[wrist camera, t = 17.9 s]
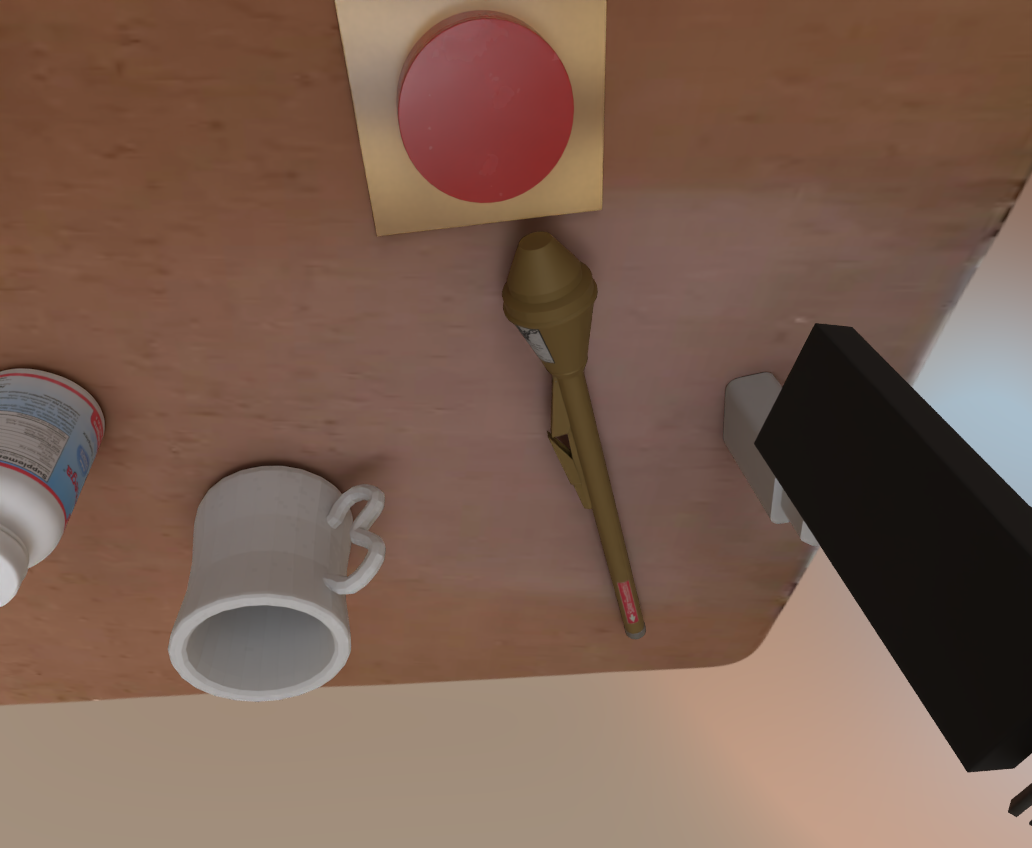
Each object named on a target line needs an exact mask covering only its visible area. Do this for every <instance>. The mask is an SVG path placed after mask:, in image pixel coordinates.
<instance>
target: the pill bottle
mask: <svg viewBox="0 0 1032 848" xmlns="http://www.w3.org/2000/svg"><path fill="white" fill-rule="evenodd" d="M104 431H105V421H104V416H103V413H102V411H101V408H100V407H99V405H98V403H97V402H96V400H95V399H94V398H93V397H92V396H91V395H90V394H89V393H88V392H87V391H86V390H85V389H83V388H82V387H81V386H79V385H78V384H76V383H74V382H72V381H70V380H69V379H66V378H64V377H62V376H59V375H56V374H53V373H49V372H45V371H41V370H35V369H24V368H17V369H10V370H5V371H1V372H0V607H2V606H4V605H5V604H7V603H8V602H9V601H10V600H11V599H12V598H13V597H14V596H15V595H16V593H17V591H18V589H19V587H20V585H21V583H22V581H23V579H24V578H25V576H26V574H27V571H28V568H30V567H32V566H34V565H36V564H38V563H39V562H41V561H42V560H44V559H45V558H46V557H47V556H48V555H49V554H50V553H51V552H52V551H53V550H54V549H55V547H56V546H57V544H58V543H59V541H60V539H61V537H62V534H63V532H64V530H65V528H66V526H67V523H68V521H69V518H70V516H71V513H72V511H73V509H74V506H75V504H76V502H77V499H78V497H79V494H80V492H81V490H82V487H83V485H84V482H85V480H86V478H87V475H88V473H89V471H90V468H91V466H92V463H93V461H94V459H95V456H96V454H97V451H98V449H99V447H100V444H101V441H102V439H103V435H104Z"/></svg>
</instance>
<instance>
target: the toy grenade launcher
mask: <svg viewBox="0 0 1032 848" xmlns="http://www.w3.org/2000/svg"><path fill="white" fill-rule="evenodd" d="M597 293H598V290H597V284H596V282H595V280H594V279H593V278H592V273H591V271H590V269H589V268H588V267H587V266H586V265H585V264H583V263H582V262H580V261H579V260H578V259H577V258H576V257H575V256H574V255H573V254H572V253H571V252H570V251H569V250H567V249H566V248H565V247H564V246H563V245H562V244H561V243H560V242H559V241H557V240H556V239H555V238H554V237H553V236H552V235H551V234H550V233H548V232H534V233H531V234H528V235H526V236H525V237H523V238H522V239H521V240H520V241H519V244H518V247H517V250H516V253H515V256H514V259H513V262H512V265H511V268H510V271H509V274H508V278H507V282H506V284H505V285H504V288H503V291H502V297H503V301H504V303H503V310H504V313H505V316H506V317H507V318H508V320H509V321H511V322H512V323H513V324H515V325H516V327H517V328H518V329H519V331H520V332H521V334H522V335H523V336H524V338H525V339H526V340H527V342H528V343H529V345H530V346H531V347H532V349H533V350H534V352H535V353H536V354H537V356H538V357H539V358H540V360H541V361H542V363H543V364H544V365H545V368H546V369H547V371H548V372H549V373H551V374H552V400H551V433H550V432H548V431H547V433H548V438H549V440H550V442H551V444H552V446H553V448H554V450H555V452H556V454H557V456H558V458H559V461H560V463H561V465H562V467H563V469H564V471H565V473H566V475H567V477H568V479H569V481H570V483H571V484H573V485H574V487H575V489H576V491H577V493H578V496H579V498H580V500H581V502H582V504H583V506H584V508H586V509H592V510H593V514H594V517H595V521H596V524H597V528H598V532H599V535H600V539H601V543H602V546H603V550H604V554H605V557H606V561H607V564H608V568H609V572H610V575H611V579H612V583H613V586H614V590H615V593H616V597H617V601H618V604H619V608H620V612H621V615H622V619H623V622H624V628H625V632H626V634H627V636H628V637H630V638H631V639H639V638H641V637H643V636H644V634H645V632H646V627H645V623H644V621H643V617H642V613H641V609H640V604H639V600H638V596H637V592H636V588H635V584H634V580H633V575H632V571H631V567H630V563H629V559H628V555H627V550H626V546H625V542H624V538H623V534H622V530H621V525H620V521H619V517H618V513H617V509H616V505H615V501H614V496H613V492H612V488H611V484H610V480H609V476H608V471H607V467H606V463H605V459H604V455H603V451H602V447H601V442H600V438H599V434H598V430H597V426H596V422H595V417H594V413H593V409H592V405H591V401H590V397H589V393H588V388H587V384H586V380H585V376H584V372H583V370H584V368H585V366H586V363H587V359H588V355H587V353H588V345H589V337H590V329H591V321H592V313H593V305H594V301H595V299H596V298H597ZM565 434H568V438H569V443H570V448H571V450H570V449H568V448H567V447H566V446H565V445H564V444H563V443H561V442H560V441H559V440H558V439H557V438H555V437H557V436H561V435H565Z"/></svg>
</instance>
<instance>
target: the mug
mask: <svg viewBox="0 0 1032 848" xmlns="http://www.w3.org/2000/svg"><path fill="white" fill-rule="evenodd" d="M362 500H367V501H368V502H367V504H366V506H365V507H364V508H363V510H362V511H361V512H360V514H359V515H358V516H357V518H356V519H355V520H354V522H353V517H352V512H351V510H350V507H351V506H352V505H354V504H355V503H356V502H358V501H362ZM384 502H385V497H384V493H383V492H382V491H381V490H380V489H379V488H378V487H376V486H373V485H367V484H361V485H357V486H353V487H352V488H350V489H349V490H347V491H346V492H344V493H343V494H342V493H341V492H340V491H339V490H338V489H337V487H335V486H334V485H333V484H331V483H330V482H328V481H327V480H325V479H324V478H322V477H320V476H318V475H315V474H313V473H310V472H308V471H305V470H302V469H298V468H292V467H286V466H260V467H255V468H250V469H246V470H241V471H238V472H236V473H234V474H232V475H229V476H227V477H225V478H223V479H221V480H220V481H219V482H218V483H217V484H215V485H214V486H213V487H212V488H210V489H209V490H208V492H207V493H206V495H205V496H204V498H203V500H202V501H201V503H200V505H199V507H198V509H197V514H196V518H195V524H194V534H193V557H192V567H191V572H190V577H189V583H188V588H187V592H186V595H185V597H184V600H183V603H182V605H181V608H180V611H179V613H178V616H177V619H176V621H175V624H174V627H173V629H172V632H171V636H170V641H169V646H168V652H169V656H170V659H171V663H172V665H173V666H174V668H175V669H176V670H177V671H178V673H179V674H180V675H181V677H182V678H183V679H185V680H186V681H187V682H189V683H190V684H192V685H193V686H194V687H196V688H198V689H200V690H202V691H205V692H207V693H210V694H212V695H214V696H219V697H223V698H228V699H233V700H239V701H255V702H260V701H272V700H281V699H285V698H290V697H294V696H299V695H302V694H304V693H307V692H309V691H311V690H314V689H317V688H319V687H320V686H322V685H323V684H325V683H326V682H328V681H329V680H331V679H332V678H333V677H334V676H335V675H336V674H337V673H338V672H339V671H340V670H341V669H342V667H343V666H344V665H345V664H346V661H347V659H348V657H349V654H350V652H351V634H350V626H349V619H348V612H347V604H346V594H354V593H356V592H357V591H359V590H360V589H361V588H363V587H364V586H366V585H367V584H368V583H369V582H370V580H371V579H372V578H373V577H374V576H375V575H376V573H377V572H378V570H379V568H380V567H381V565H382V563H383V561H384V558H385V551H386V548H385V543H384V542H383V540H382V539H381V537H380V536H378V535H376V534H374V533H372V532H369V531H368V530H369V528H370V527H371V526H372V524H373V523H374V522H375V520H376V519H377V518H378V516H379V515H380V513H381V512H382V510H383V508H384ZM351 543H354V544H356V545H359V546H362V547H365V548H367V549H368V553H367V555H366V557H365V559H364V561H363V562H362V563H361V564H360V566H359V567H358V568H357V569H356V571H354V572H353V573H352V574H351V575H350V576H348V577H347V566H348V559H349V554H350V548H351Z"/></svg>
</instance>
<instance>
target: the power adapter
mask: <svg viewBox="0 0 1032 848" xmlns="http://www.w3.org/2000/svg"><path fill="white" fill-rule="evenodd" d="M781 389H782V386H781V385H780V383H779V382H778V381H777V379H776V378H775V377H774V375H773V374H771V373H768V372H764V373H759V374H754V375H750V376H745V377H740V378H737V379H734V380H733V381H731V382H730V383H729V384H728V385H727V388H726V392H725V410H724V429H723V440H724V443H725V444H726V446H727V448H728V449H729V451H730V453H731V454H732V456H733V458H734V459H735V461H736V463H737V464H738V466H739V468H740V469H741V471H742V473H743V474H744V476H745V478H746V479H747V481H748V483H749V484H750V486H751V488H752V489H753V491H754V493H755V494H756V496H757V498H758V499H759V501H760V503H761V504H762V506H763V508H764V509H765V511H766V513H767V514H768V516H769V518H770V519H771V521H772V522H773V523H776V524H782V523H787V522H791V524H792V526H793V527H794V529H795V530H796V532H797V534H798V535H799V537H800V538H801V540H802V541H803V542H805V543H808V544H810V545H813V546H818V545H819V543H818V542H817V540H816V539H815V537H814V536H813V534H812V533H811V531H810V529H809V528H808V526H807V525H806V523H805V522H804V520H803V519H802V517H801V516H800V514H799V513H798V511H797V509H796V508H795V506H794V505H793V503H792V502H791V500H790V499H789V497H788V496H787V494H786V493H785V491H784V489H783V488H782V486H781V485H780V483H779V482H778V480H777V479H776V477H775V476H774V474H773V473H772V471H771V469H770V468H769V466H768V465H767V463H766V462H765V460H764V459H763V457H762V456H761V454H760V453H759V451H758V449H757V448H756V446H755V445H754V442H755V440H756V438H757V436H758V434H759V432H760V430H761V428H762V426H763V424H764V422H765V420H766V418H767V416H768V414H769V413H770V411H771V409H772V407H773V405H774V403H775V401H776V399H777V397H778V395H779V393H780V391H781Z"/></svg>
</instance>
